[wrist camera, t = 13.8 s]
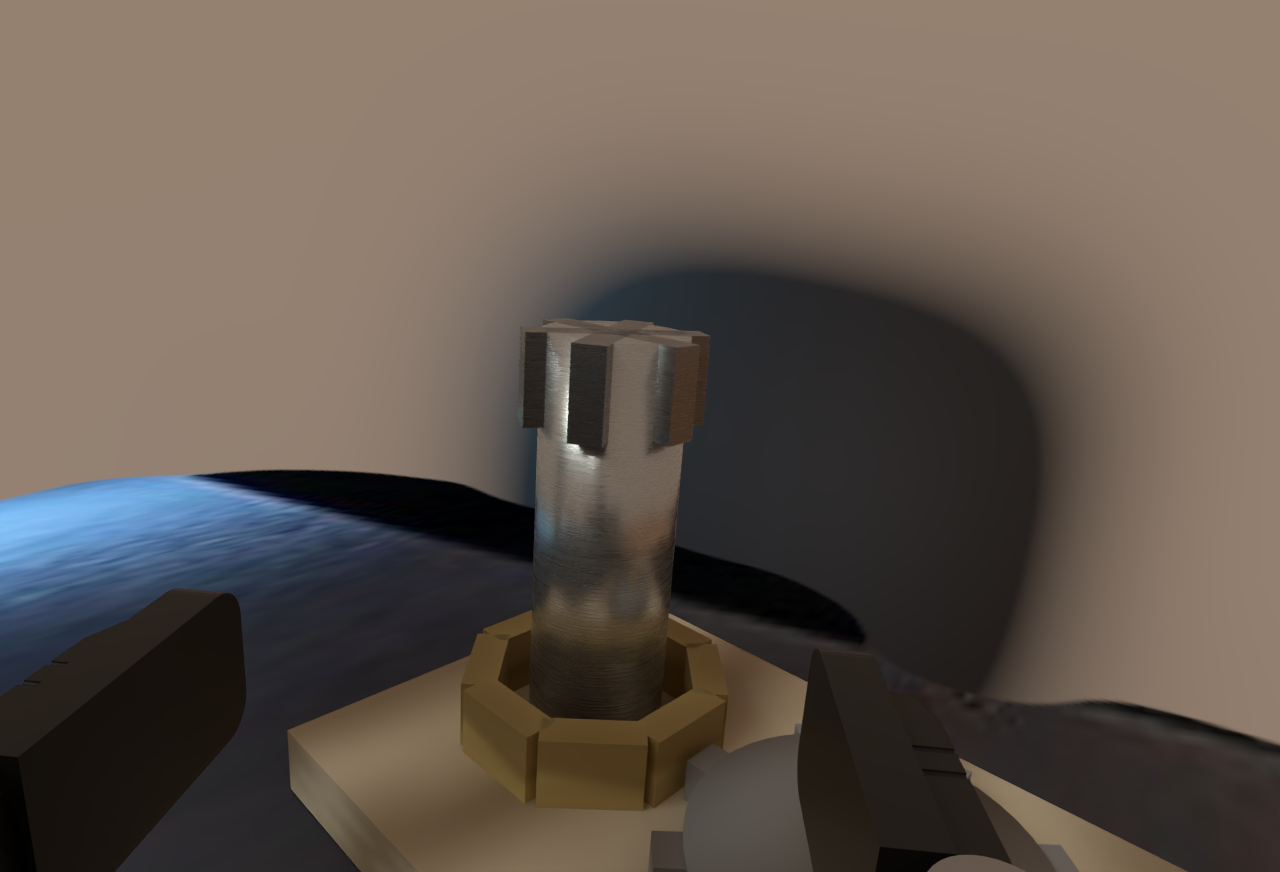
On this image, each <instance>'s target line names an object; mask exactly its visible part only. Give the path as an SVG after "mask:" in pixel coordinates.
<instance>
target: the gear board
mask: <svg viewBox="0 0 1280 872" xmlns="http://www.w3.org/2000/svg"><path fill="white" fill-rule="evenodd" d="M531 623H532V610H531V611H528V612H526V613H523V614H520V615H518V616H515V617H513V618H510V619H508V620H505V621H502V622H500V623H497V624H495V625H492V626H489V627H487V628H484V629H483V634H479V633H478V634H477V637H476V640H475V643H474V646H473V649H472V652H471V655H470V656H467V657H465V658H462V659H460V660H458V661H455V662H453V663H450V664H448V665H445V666H443V667H440V668H438V669H436V670H433V671H431V672H428V673H426V674H423V675H421V676H419V677H416V678H414V679H411V680H409V681H406V682H404V683H402V684H399V685H397V686H394V687H392V688H389V689H387V690H384V691H382V692H380V693H377V694H375V695H372V696H370V697H367V698H365V699H363V700H360V701H358V702H355V703H353V704H350V705H348V706H346V707H343V708H341V709H338V710H336V711H333V712H331V713H329V714H326V715H324V716H321V717H319V718H316V719H314V720H311V721H309V722H307V723H304V724H302V725H299V726H297V727H294V728H292V729H290V730H287V732H288V749H289V766H290V783H291V790H292V791H293V792H294V793H295V794H296V795H297V797H298V798H299V799H300V800H301V801H302V803H303V804H304V805H305V806H306V807H307V808H308V810H309V811H310V812H311V813H312V814H313V816H314V817H315V818H316V819H317V820H318V821H319V823H320V824H321V825H322V826H323V827H324V829H325V830H326V831H327V832H328V833H329V834H330V836H331V837H332V838H333V839H334V840H335V842H336V843H337V844H338V845H339V846H340V848H341V849H342V850H343V851H344V852H345V853H346V855H347V856H348V857H349V858H350V859H351V861H352V862H353V863H354V864H355V865H356V866H357V868H358V869H359V870H360V871H361V872H813V867H812V862H811V857H810V852H809V847H808V842H807V836H806V831H805V826H804V821H803V816H802V810H801V805H800V800H799V794H798V782H797V760H798V747H799V740H800V733H801V726H802V719H803V712H804V705H805V698H806V691H807V684H808V682H806V681H804V680H802V679H800V678H798V677H796V676H794V675H792V674H790V673H788V672H786V671H784V670H782V669H780V668H778V667H776V666H774V665H772V664H770V663H768V662H766V661H764V660H762V659H760V658H758V657H756V656H754V655H752V654H750V653H748V652H746V651H744V650H742V649H740V648H738V647H736V646H734V645H732V644H730V643H728V642H726V641H724V640H722V639H720V638H718V637H716V636H714V635H712V634H710V633H708V632H706V631H704V630H702V629H700V628H698V627H696V626H694V625H692V624H690V623H688V622H686V621H684V620H682V619H680V618H678V617H676V616H674V615H672V614H670V613H669V617H668V629H667V641H666V653H665V665H664V677H663V689H662V700H661V708H659V709H658V710H656V711H654V712H653V713H651V714H649V715H648V716H646V717H644V718H642V719H641V720H639V721H618V720H594V719H569V718H550V717H549V716H547V715H546V714H545V713H543V712H542V711H540V710H539V709H538V708H536V707H535V706H533V705H532V704H530V703H529V684H530V653H531ZM959 759H960V758H959ZM960 761H961V763H962V765H963V767H964V769H965V771H966V773H967V774H966V777H967V779H970V781H971V783H972V785H973V787H974V789H975V791H976V793H977V795H978V797H979V799H980V801H981V803H982V805H983V807H984V809H985V811H986V813H987V815H988V817H989V819H990V821H991V823H992V825H993V827H994V829H995V831H996V832H997V834H998V836H999V838H1000V840H1001V842H1002V844H1003V846H1004V848H1005V850H1006V852H1007V854H1008V856H1009V858H1010V860H1011V862H1012V864H1013V865H1014V866H1016V867H1018V868H1020V869H1022V870H1024V871H1026V872H1187V871H1185V870H1183V869H1181V868H1179V867H1177V866H1175V865H1173V864H1171V863H1169V862H1167V861H1165V860H1163V859H1161V858H1159V857H1157V856H1155V855H1153V854H1151V853H1149V852H1147V851H1145V850H1143V849H1141V848H1139V847H1137V846H1135V845H1133V844H1131V843H1129V842H1127V841H1125V840H1123V839H1121V838H1119V837H1117V836H1115V835H1113V834H1111V833H1109V832H1107V831H1105V830H1103V829H1101V828H1099V827H1097V826H1095V825H1093V824H1091V823H1089V822H1087V821H1085V820H1083V819H1081V818H1079V817H1077V816H1075V815H1073V814H1071V813H1069V812H1067V811H1065V810H1063V809H1061V808H1059V807H1057V806H1055V805H1053V804H1051V803H1049V802H1047V801H1045V800H1043V799H1041V798H1039V797H1037V796H1035V795H1033V794H1031V793H1029V792H1027V791H1025V790H1023V789H1021V788H1019V787H1017V786H1015V785H1013V784H1011V783H1009V782H1007V781H1005V780H1003V779H1001V778H999V777H997V776H995V775H993V774H991V773H989V772H987V771H985V770H983V769H981V768H979V767H977V766H975V765H973V764H971V763H968V762H966V761H964V760H962V759H960Z"/></svg>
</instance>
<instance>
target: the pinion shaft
mask: <svg viewBox="0 0 1280 872" xmlns="http://www.w3.org/2000/svg"><path fill="white" fill-rule="evenodd" d="M710 337H711V336H709V335H706V334H704V333H702V332H700V331H679V330H675V329H671V328H666V327H660V326H654V323H651V322H641V321H630V320H623V321H621V322H611V321H578V320H573V319H568V318H565V319H547V320H543V326H542V327H520V358H519V359H520V360H519V397H518V398H519V399H518V420H519V422H520V424H521V426H522V427H523V428H538V439H537V440H538V441H537V471H536V500H535V501H536V502H535V531H534V561H533V592H532V623H531V653H530V684H529V703H530V704H532V705H533V706H535V707H536V708H538V709H539V710H540V711H542V712H543V713H545V714H546V715H547V716H549V717H550V718H569V719H594V720H618V721H639V720H641V719H642V718H644V717H646V716H648V715H649V714H651V713H653V712H654V711H656V710H658V709H659V708H661V700H662V689H663V677H664V665H665V653H666V641H667V629H668V617H669V605H670V593H671V581H672V569H673V557H674V546H675V534H676V521H677V510H678V509H677V508H678V497H679V486H680V474H681V462H682V450H683V443H687V442H691V441H692V434H693V426H703V415H704V404H705V392H706V382H707V371H708V359H709V349H710Z"/></svg>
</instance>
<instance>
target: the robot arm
mask: <svg viewBox="0 0 1280 872" xmlns="http://www.w3.org/2000/svg"><path fill="white" fill-rule="evenodd" d="M245 702H246V681H245V667H244V654H243V640H242V626H241V613H240V607H239V603H238V601H237V599H236V598H235V596H234V595H232V594H230V593H222V592H211V591H200V590H190V589H172V590H170V591H168V592H167V593H165V594H164V595H162V596H161V597H160V598H158V599H157V600H155V601H154V602H153V603H151V604H150V605H148V606H147V607H146V608H144V609H143V610H141V611H140V612H139V613H137V614H136V615H134V616H133V617H132V618H130V619H129V620H127V621H124V622H122V623H120V624H117V625H115V626H112V627H110V628H108V629H105V630H103V631H101V632H98V633H96V634H93V635H91V636H89V637H86V638H84V639H83V640H81V641H80V642H79V643H77V644H76V645H74V646H73V647H71V648H70V649H68V650H67V651H66V652H64V653H63V654H61V655H60V656H58V657H57V658H56V659H54V660H53V661H52V664H51V666H46V665H45V666H44V667H43V668H41V669H40V670H38V671H37V672H35V673H34V674H32V675H31V676H30V677H28V678H27V679H25V682H24V684H23V685H17V686H15V687H14V688H12V689H11V690H9V691H8V692H7V693H5V694H4V695H2V696H1V697H0V872H115V871H116V870H117V868H118V867H119V866H120V865H121V864H122V863H123V862H124V860H125V859H126V858H127V857H128V856H129V855H130V854H131V852H132V851H133V850H134V849H135V848H136V847H137V846H138V844H139V843H140V842H141V841H142V840H143V839H144V838H145V837H146V835H147V834H148V833H149V832H150V831H151V830H152V829H153V827H154V826H155V825H156V824H157V823H158V822H159V821H160V819H161V818H162V817H163V816H164V815H165V814H166V813H167V811H168V810H169V809H170V808H171V807H172V806H173V805H174V803H175V802H176V801H177V800H178V799H179V798H180V797H181V796H182V794H183V793H184V792H185V791H186V790H187V789H188V788H189V786H190V785H191V784H192V783H193V782H194V781H195V780H196V778H197V777H198V776H199V775H200V774H201V773H202V772H203V770H204V769H205V768H206V767H207V766H208V765H209V764H210V763H211V761H212V760H213V759H214V758H215V757H216V756H217V755H218V753H219V752H220V751H221V750H222V749H223V748H224V747H225V745H226V744H227V743H228V742H229V741H230V740H231V738H232V737H233V735H234V734H235V732H236V730H237V728H238V726H239V724H240V721H241V719H242V716H243V712H244V708H245ZM966 774H967V773H966V771H965V769H964V767H963V765H962V763H961V761H960V759H959V757H958V755H955V754H954V747H953V745H952V743H951V741H950V739H949V737H948V735H947V733H946V731H945V729H944V727H943V725H942V723H941V721H940V720H939V719H938V718H937V717H936V716H935V715H934V714H932V713H931V712H930V711H929V710H928V709H927V708H926V707H925V706H924V705H923V704H921V703H920V702H919V701H918V700H917V699H916V698H915V697H914V696H913V695H909V694H898V693H889V691H888V689H887V686H886V684H885V681H884V679H883V677H882V674H881V672H880V670H879V667H878V665H877V663H876V660H875V658H874V656H873V655H872V654H871V653H864V652H853V651H842V650H831V649H820V648H816V649H815V650H814V652H813V655H812V659H811V663H810V670H809V677H808V684H807V691H806V698H805V705H804V712H803V719H802V726H801V733H800V740H799V747H798V760H797V782H798V794H799V800H800V805H801V810H802V816H803V821H804V826H805V831H806V836H807V842H808V847H809V852H810V857H811V862H812V867H813V872H1026V871H1024V870H1022V869H1020V868H1018V867H1016V866H1014V865H1013V864H1012V862H1011V860H1010V858H1009V856H1008V854H1007V852H1006V850H1005V848H1004V846H1003V844H1002V842H1001V840H1000V838H999V836H998V834H997V832H996V831H995V829H994V827H993V825H992V823H991V821H990V819H989V817H988V815H987V813H986V811H985V809H984V807H983V805H982V803H981V801H980V799H979V797H978V795H977V793H976V791H975V789H974V787H973V785H972V783H971V781H970V779H967V777H966Z"/></svg>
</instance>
